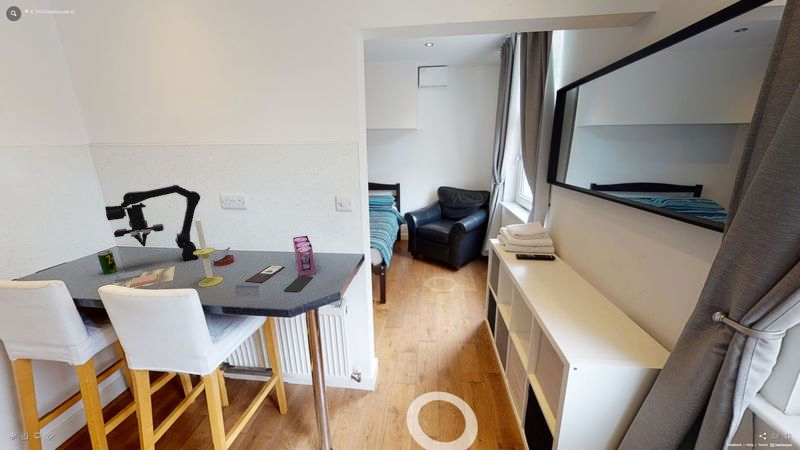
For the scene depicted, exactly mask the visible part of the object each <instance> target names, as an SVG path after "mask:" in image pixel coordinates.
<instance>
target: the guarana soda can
mask: <svg viewBox="0 0 800 450" xmlns="http://www.w3.org/2000/svg"><path fill="white" fill-rule="evenodd" d="M113 253H114V252H113V251H112V249H107V250H100V251H99V252H97V254H96V255H97V260H98V261H99V265H100V268H101V271H102V275H104V276H110V275H114V274H116V273H118V271H119V269H118V266H117V263H116V259H115V256H114V254H113Z"/></svg>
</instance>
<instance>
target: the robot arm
mask: <svg viewBox="0 0 800 450" xmlns="http://www.w3.org/2000/svg"><path fill="white" fill-rule="evenodd" d="M171 194H178V195H180V196H183V197H185V198H186V199H185V203H186V208H185V213H184V219H183V222H182V226H181V231H180V232H179V233H176V237H175V240H174V241H175V244H176V245H177V247H178V248H179V249H181V250H182V251H181V257H182V261H184V263H186V261H187V262H192V261H197V259H198V260H199V255H194V254H193V252H195V251H197V246H196V244H195V243H194V242H192V241H191V234H190V233H191V229H192V225H193V220H194V215H195V210H196V208H197V206H198V204H199V202H200V201H201V194H200V193H198V192H197V191H194V190H188V189H186V188H183V187H181V186H180V185H178V184H173V185H169V186H165V187H160V188H155V189H154V188H153V189H151V190H143V191H142V190H141V191H128V192H125V194H124V195H123V196H122V199H123V201H122V202H121V203H120V205H112V206H111V205H105V207H104V208H105V216H106V219H107V221H115V220H116V221H117V220H123V219H125V217H127V215H128V225H129V227H130V228H131V229H127V228H120V229H116V230H115V231H114V232H113V235H114V236H113V237H114V238H120V237H124V236H125V235H128V234H129V235H130V238H131V237H133V238H134V239H135V240H137V241H138V242H139V244H140V245H141V246H142V247H146V245H147V238H148V235H150V234H151V233H152V232H151V231H153V232H155V233H157V232H163V231H164V230H165V226H164V224H163V223H157V224H153V225H152V226H149V225H148V221H147V220H146V219H145V216H144V212H143V208H147V205H146V204H144V203H143V202H144V201H146V200H148V199H152V198H157V197H161V196H166V195H171ZM130 205H131V206H130Z"/></svg>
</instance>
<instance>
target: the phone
mask: <svg viewBox="0 0 800 450" xmlns="http://www.w3.org/2000/svg"><path fill="white" fill-rule="evenodd" d="M312 279H314V277H313V276H309V275H304V276H299V275H298V277H297V278H295V279H294V280H293V281H292V282H291V283H289V284H288V286H287V287H285V288H284V290H283V292H284V293H299V292H301V291H302V290H304V288H305V287H306V286H307V285H309V283H310V282H311V281H312Z"/></svg>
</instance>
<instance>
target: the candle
mask: <svg viewBox="0 0 800 450" xmlns="http://www.w3.org/2000/svg"><path fill="white" fill-rule="evenodd" d="M194 223H195V224H194V225H195V228H196V234H197V238H198V241H199V247H200V249H198V250H197V251H195V252H193V254H194V255H198V256H201V259H202V264H203V267H204V272H205V276H206V278H204V279H202V280H200V281H199V282H198V286H199V288H200V287H202V288H205V287H212V286H215V285H218V284H220V283H222V282H223V281H224V278H223V277H222V276H213V270H212V265H211V261H210V257H209V254H212V253H214V252H216V248H215V247H214V248H213V247H207V245H206V239H205V234H204V230H203V225H202V221H201V219H200V218H199V217H198V215H197V214H196V216H195V219H194Z"/></svg>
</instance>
